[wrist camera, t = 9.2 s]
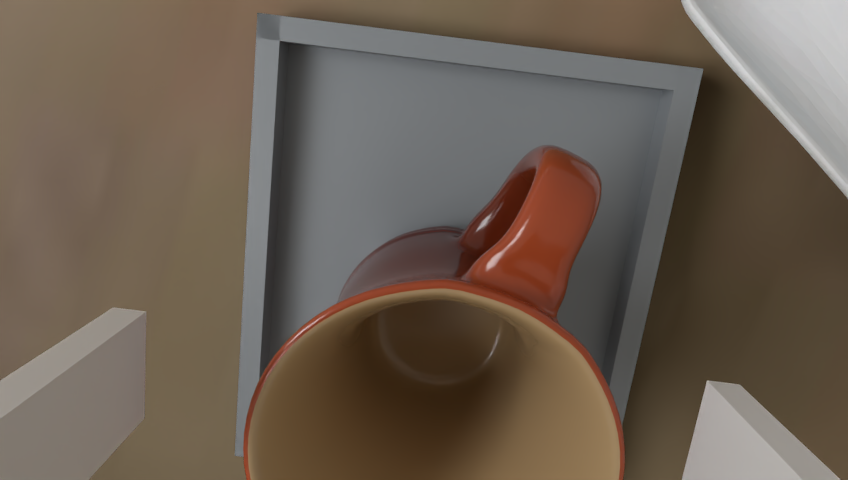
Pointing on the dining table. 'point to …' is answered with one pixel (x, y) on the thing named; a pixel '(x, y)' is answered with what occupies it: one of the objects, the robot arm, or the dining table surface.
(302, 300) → the rest tray
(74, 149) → the dining table surface
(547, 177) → the mug
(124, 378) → the robot arm
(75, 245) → the dining table surface
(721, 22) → the salad plate
